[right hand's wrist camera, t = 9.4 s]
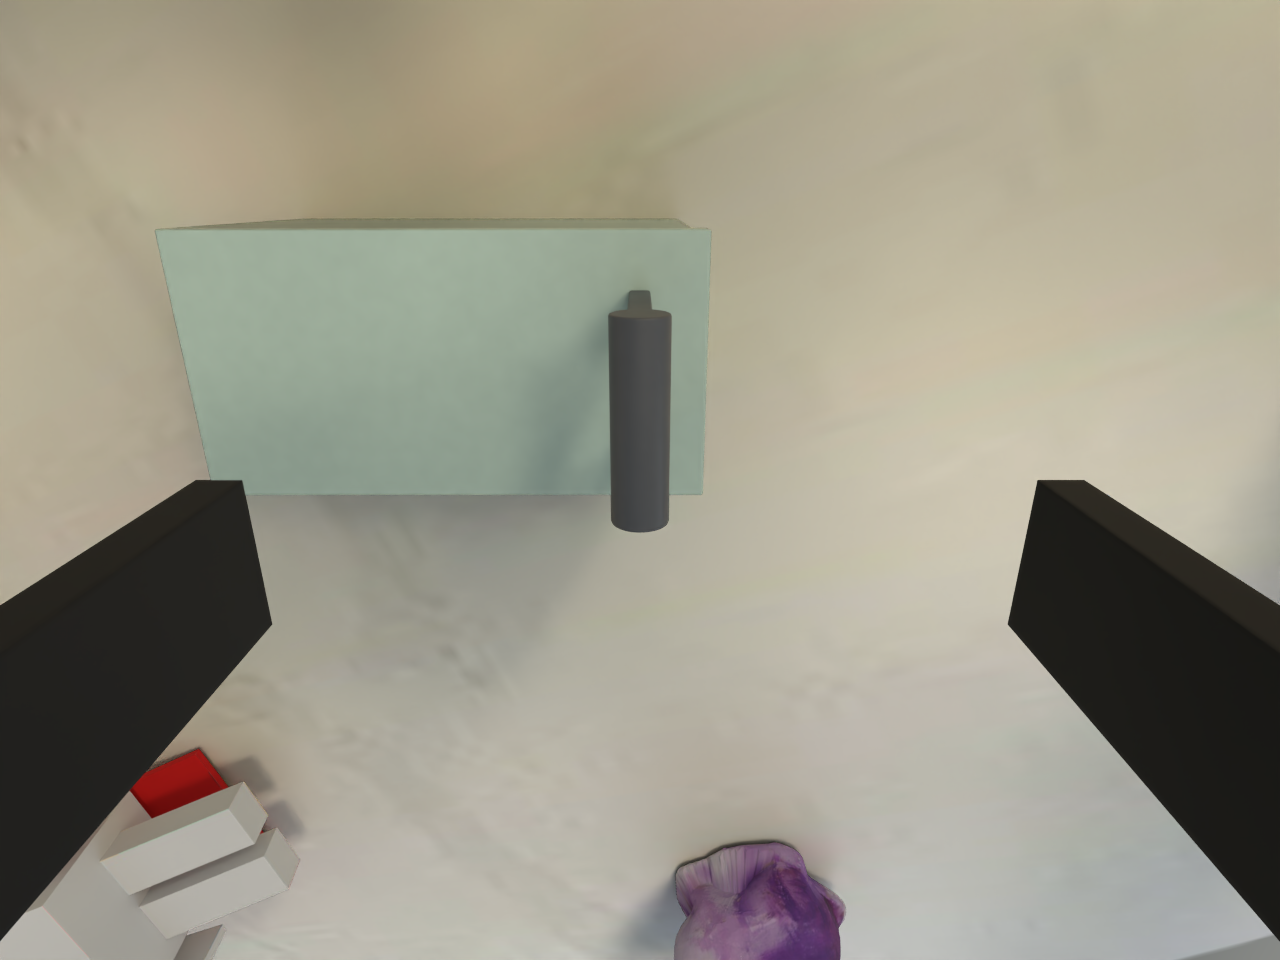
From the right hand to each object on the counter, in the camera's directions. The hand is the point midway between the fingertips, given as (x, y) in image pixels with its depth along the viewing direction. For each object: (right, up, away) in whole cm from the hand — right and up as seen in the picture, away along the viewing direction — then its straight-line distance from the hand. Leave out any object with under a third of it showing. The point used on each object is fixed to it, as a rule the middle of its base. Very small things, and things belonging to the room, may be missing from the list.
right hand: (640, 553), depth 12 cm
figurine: (+7, -26, +36) cm, 45 cm away
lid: (-7, +5, +14) cm, 16 cm away
